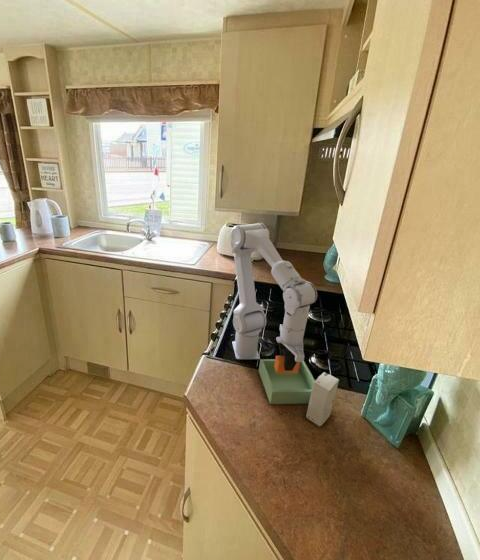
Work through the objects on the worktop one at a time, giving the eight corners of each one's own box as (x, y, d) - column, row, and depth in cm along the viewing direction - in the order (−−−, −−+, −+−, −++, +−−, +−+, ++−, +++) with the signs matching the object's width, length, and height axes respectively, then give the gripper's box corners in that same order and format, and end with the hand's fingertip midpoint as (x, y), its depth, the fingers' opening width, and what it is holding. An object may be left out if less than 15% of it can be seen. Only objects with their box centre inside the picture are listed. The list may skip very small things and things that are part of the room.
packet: (273, 366, 91) (275, 355, 89) (294, 366, 91) (296, 355, 90) (276, 373, 88) (278, 362, 87) (297, 373, 89) (300, 362, 87)
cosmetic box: (320, 427, 80) (330, 392, 75) (304, 417, 83) (312, 382, 78) (331, 414, 84) (341, 379, 79) (315, 404, 87) (324, 370, 82)
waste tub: (258, 370, 99) (260, 359, 97) (300, 370, 100) (302, 358, 98) (270, 404, 87) (272, 391, 85) (317, 403, 88) (321, 391, 86)
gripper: (272, 311, 90) (266, 349, 96) (288, 341, 77) (280, 384, 83) (296, 311, 90) (288, 349, 96) (316, 341, 77) (306, 383, 83)
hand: (286, 365), depth 89 cm, fingers closed on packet, 3 cm apart
